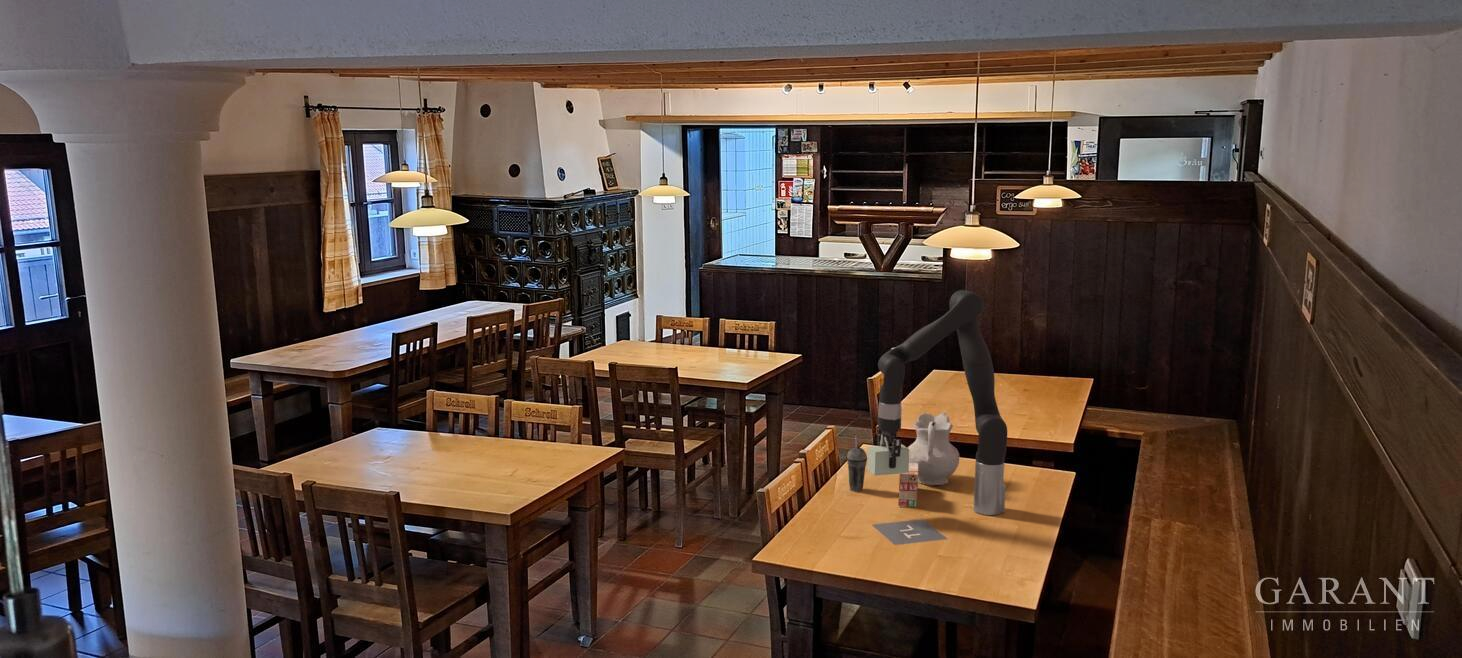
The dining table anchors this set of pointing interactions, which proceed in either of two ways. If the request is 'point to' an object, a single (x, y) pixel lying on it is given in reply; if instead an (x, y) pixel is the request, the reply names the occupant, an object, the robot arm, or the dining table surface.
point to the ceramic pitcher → (933, 449)
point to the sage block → (887, 461)
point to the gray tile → (909, 532)
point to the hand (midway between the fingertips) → (888, 464)
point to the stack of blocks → (909, 487)
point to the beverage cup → (856, 467)
